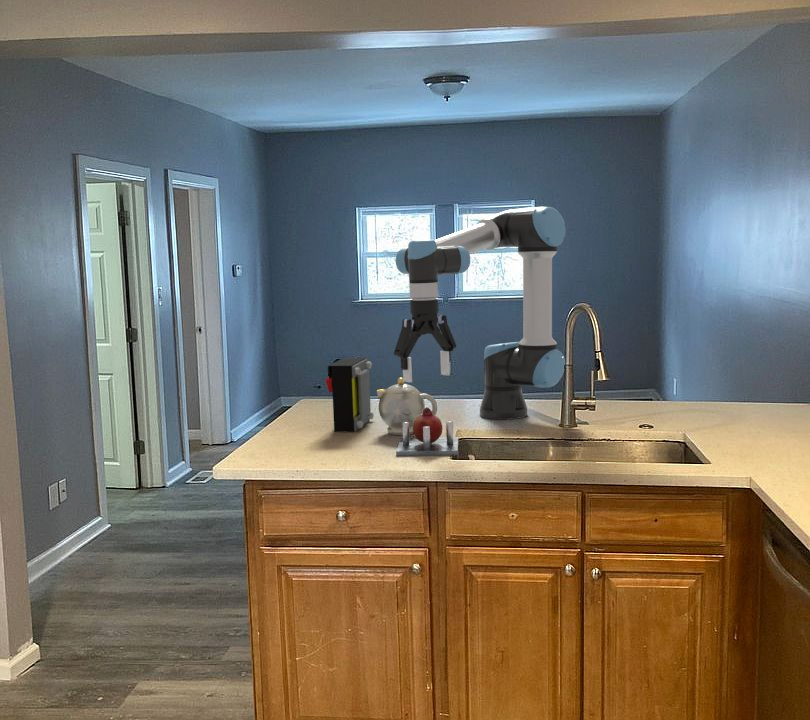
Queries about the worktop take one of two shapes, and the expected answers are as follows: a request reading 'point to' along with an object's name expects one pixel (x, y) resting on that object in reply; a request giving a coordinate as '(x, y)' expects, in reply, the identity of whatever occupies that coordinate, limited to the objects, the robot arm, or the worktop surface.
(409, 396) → the teapot
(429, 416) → the fruit
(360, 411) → the electrical component
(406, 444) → the grey square pegged plate
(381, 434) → the worktop surface
